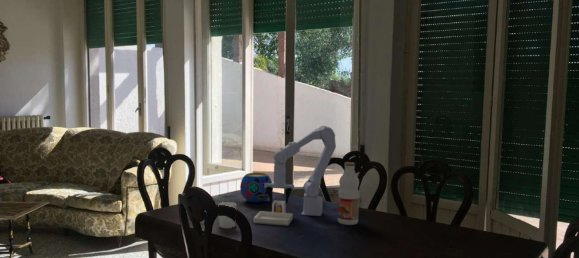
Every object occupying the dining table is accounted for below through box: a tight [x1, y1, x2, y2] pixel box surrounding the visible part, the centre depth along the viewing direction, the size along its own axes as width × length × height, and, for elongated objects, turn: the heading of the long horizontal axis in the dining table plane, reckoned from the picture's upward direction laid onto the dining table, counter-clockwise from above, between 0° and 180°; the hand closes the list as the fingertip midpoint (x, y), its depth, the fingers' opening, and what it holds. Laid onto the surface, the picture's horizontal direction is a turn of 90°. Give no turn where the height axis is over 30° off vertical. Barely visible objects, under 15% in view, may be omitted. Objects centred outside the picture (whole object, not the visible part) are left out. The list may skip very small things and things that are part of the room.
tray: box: [253, 210, 294, 227], centre depth 216 cm, size 16×12×2 cm
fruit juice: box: [337, 161, 360, 226], centre depth 215 cm, size 9×9×28 cm
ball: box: [276, 207, 282, 213], centre depth 228 cm, size 3×3×3 cm
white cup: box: [218, 201, 237, 229], centre depth 205 cm, size 8×8×10 cm
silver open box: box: [271, 200, 287, 213], centre depth 228 cm, size 6×6×6 cm
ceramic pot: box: [239, 172, 273, 203], centre depth 252 cm, size 18×18×15 cm
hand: (278, 202), depth 228 cm, fingers open, 7 cm apart
